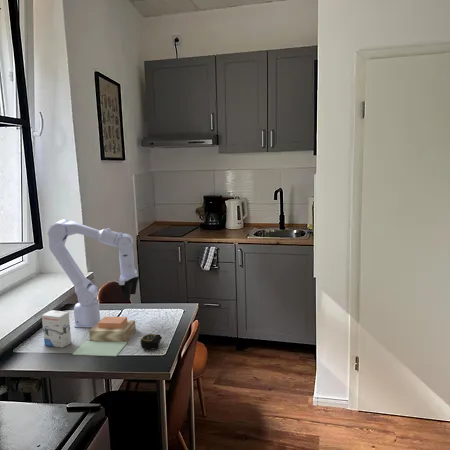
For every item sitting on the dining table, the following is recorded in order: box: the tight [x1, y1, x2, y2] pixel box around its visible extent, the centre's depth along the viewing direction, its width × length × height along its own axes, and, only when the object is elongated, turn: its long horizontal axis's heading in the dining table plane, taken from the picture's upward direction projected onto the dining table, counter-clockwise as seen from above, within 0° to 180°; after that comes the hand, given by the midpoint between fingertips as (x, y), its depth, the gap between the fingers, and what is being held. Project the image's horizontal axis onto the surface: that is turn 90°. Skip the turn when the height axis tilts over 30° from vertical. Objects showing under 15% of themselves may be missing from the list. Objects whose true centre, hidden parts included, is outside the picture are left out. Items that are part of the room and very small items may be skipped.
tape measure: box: [140, 333, 163, 351], centre depth 147 cm, size 7×7×4 cm
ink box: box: [41, 309, 72, 348], centre depth 152 cm, size 9×5×12 cm, turn 71°
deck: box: [88, 319, 137, 342], centre depth 158 cm, size 14×10×4 cm
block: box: [98, 316, 128, 328], centre depth 158 cm, size 9×6×2 cm, turn 81°
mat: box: [72, 340, 128, 357], centre depth 147 cm, size 16×10×1 cm, turn 81°
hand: (130, 296), depth 169 cm, fingers open, 5 cm apart
